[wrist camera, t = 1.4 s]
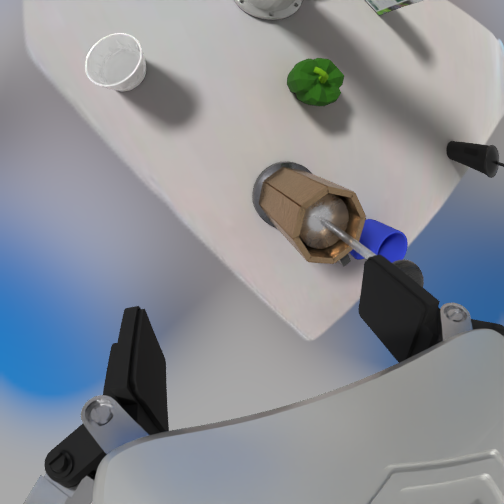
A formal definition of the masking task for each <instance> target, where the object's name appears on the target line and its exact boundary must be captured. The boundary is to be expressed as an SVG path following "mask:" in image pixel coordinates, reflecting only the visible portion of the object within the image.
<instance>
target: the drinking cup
mask: <svg viewBox="0 0 504 504" xmlns="http://www.w3.org/2000/svg"><path fill="white" fill-rule="evenodd" d="M447 155H448V157H449V158H450V159H452V160H454V161H457V162H459V163H461V164H464V165H466V166H468V167H471V168H473V169H475V170H478V171H480V172H482V173H484V174H486V175H487V176H488V177H491V178H492V177H494V176H495V175H496V173H497V170H498V166H499V165H500V166H503V167H504V164H503V163H500V162H499V154H498V150H497V148H496V147H495V146H494V145H490V146H487V145H481V144H473V143H465V142H455V141H450V142H449V143H448V145H447Z"/></svg>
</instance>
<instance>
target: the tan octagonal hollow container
mask: <svg viewBox="0 0 504 504" xmlns="http://www.w3.org/2000/svg"><path fill="white" fill-rule="evenodd" d="M328 193H330V194H333V195H335V196H337V197H339V198H340V199H341V200H343V202H344V203H345V205H346V207H347V209H348V214H349V221H348V226H347V229H346V231H345V232H346V233H347V234H349V235H350V236H351V237H353V238H354V239H356V240H357V241H358V242H359V240H360V237H361V233H362V230H363V227H364V223H365V220H366V218H365V217H366V215H365V213H364V211H363V209H362V206H361V204H360V202H359V200H358V198H357V196H356V193H354V192H353V191H351V190H349V189H346V188H344V187H342V186H340V185H337V184H335V183H333V182H330V181H328V180H325V179H323V178H321V177H318V176H316V175H313V174H312V173H311V172H310V171H309V170H308V169H307V168H305V167H304V166H302V165H299V164H297V163H293V162H279V163H275V164H273V165H271V166H269V167H267V168H266V169H265V170H264V171H263V172H262V173H261V174H260V175H259V177H258V178H257V180H256V182H255V185H254V188H253V204H254V207H255V209H256V211H257V213H258V214H259V216H260V217H261V218H262V219H263V220H264V221H265V222H266V223H268V224H269V225H271V226H273V227H276V228H277V229H278V230H279V231H280V232H281V233H282V234H283V235H284V236H285V237H286V238H287V240H288V241H289V242H290V243H291V244H292V245H293V246H294V247H295V248H296V250H297V251H298V252H299V253H300V254H301V255H302V256H303V257H304V258H305V260H306V261H308V262H314V263H330V264H334V263H336V262H337V261H338V262H339V263H340V264H341V265H342V266H345V265H346V264H348V263H349V262H350V261H351V260H350V258H349V256H348V253H349V252H350V251H352V250H353V248H351V247H350V246H349V245H348V244H346V243H345V242H344V241H342V240H341V239H339V240H338V241H337V242H336V243H335V244H333V245H331V246H329V247H326V248H321V249H318V248H313V247H310V246H308V245H307V244H306V243H305V242H304V241H303V240H302V239H301V238H300V236H299V235H300V231H301V227H302V222H303V218H304V214H305V210H306V209H307V208H308V207H310V206H311V205H313V204H314V203H315V202H317V201H318V200H319V199H321V198H322V197H323V196H325V195H326V194H328Z"/></svg>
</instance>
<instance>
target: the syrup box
mask: <svg viewBox="0 0 504 504" xmlns="http://www.w3.org/2000/svg"><path fill="white" fill-rule="evenodd" d="M366 1H367V3H368V4H369V5H370V6H371V7H372V8H373V9H374V10H375V11H376V12H377V14H378V15H381V14H384V13H387V12H389V11H392V10H395V9H398V8H401V7H404V6H407V5H410V4H413V3H417V2H420V1H423V0H366Z"/></svg>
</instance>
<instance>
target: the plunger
mask: <svg viewBox="0 0 504 504" xmlns="http://www.w3.org/2000/svg"><path fill="white" fill-rule="evenodd" d="M348 221H349V214H348V209H347V207H346V205H345V203H344V202H343V200H341V199H340V198H339V197H337V196H335V195H333V194H330V193H328V194H326V195H325V196H323V197H322V198H321V199H319V200H318V201H317V202H315V203H314V204H313V205H311V206H310V207H308V208H307V209H306V210H305V214H304V218H303V222H302V227H301V231H300V235H299V236H300V238H301V239H302V240H303V241H304V242H305V243H306V244H307V245H308V246H310V247H313V248H318V249H321V248H326V247H329V246H331V245H333V244H335V243H336V242H337V241H338V240H339V239H341V240H342V241H344V242H345V243H346V244H348V245H349V246H350V247H351V248H353V249H354V250H355V251H356V252H358V253H359V254H360V255H361V256H363V257H364V258H365V259H366V260H367V259H368V258H369V257H371V256H375V255H376V254H375V253H373V252H372V251H371V250H369V249H368V248H366V247H365V246H364V245H362V244H361V243H360V242H358V241H357V240H356V239H354V238H353V237H351V236H350V235H349V234H347V233H346V232H345V231H346V229H347V226H348ZM393 264H394V265H395V266H396V267H398V268H399V269H400V270H402V271H403V272H404V273H405V274H407V275H408V276H409V277H410V278H412V279H413V280H414V281H415V282H417V283H418V284H419V285H420V286H421V287H423V275H422V272H421V270H420V269H419V267H418V266H417V265H416V264H414V263H413V262H411V261H409V260H397V261H394V262H393Z"/></svg>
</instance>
